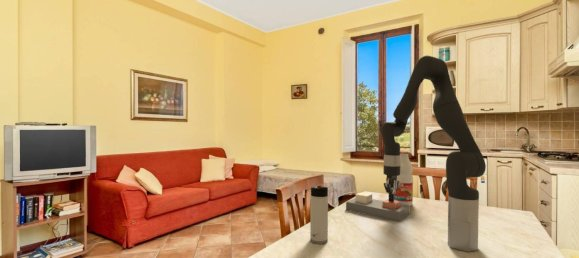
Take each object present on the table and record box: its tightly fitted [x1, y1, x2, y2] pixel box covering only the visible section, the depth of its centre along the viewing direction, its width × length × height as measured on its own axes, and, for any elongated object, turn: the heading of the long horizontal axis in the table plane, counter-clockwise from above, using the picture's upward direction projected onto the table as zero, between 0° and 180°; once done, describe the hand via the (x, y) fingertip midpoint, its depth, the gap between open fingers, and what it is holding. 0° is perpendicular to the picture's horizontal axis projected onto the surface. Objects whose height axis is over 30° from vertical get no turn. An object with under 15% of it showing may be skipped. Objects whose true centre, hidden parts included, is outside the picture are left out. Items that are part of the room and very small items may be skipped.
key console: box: [345, 197, 411, 222], centre depth 145 cm, size 14×26×4 cm, turn 49°
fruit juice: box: [394, 150, 414, 207], centre depth 159 cm, size 9×9×28 cm
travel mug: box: [309, 186, 329, 245], centre depth 109 cm, size 6×7×20 cm
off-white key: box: [355, 191, 373, 204], centre depth 149 cm, size 6×6×4 cm
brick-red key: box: [382, 198, 400, 209], centre depth 140 cm, size 6×6×4 cm
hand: (391, 201), depth 140 cm, fingers closed
